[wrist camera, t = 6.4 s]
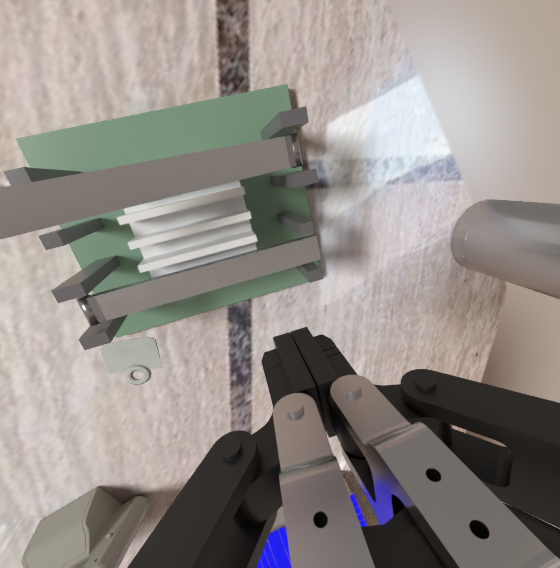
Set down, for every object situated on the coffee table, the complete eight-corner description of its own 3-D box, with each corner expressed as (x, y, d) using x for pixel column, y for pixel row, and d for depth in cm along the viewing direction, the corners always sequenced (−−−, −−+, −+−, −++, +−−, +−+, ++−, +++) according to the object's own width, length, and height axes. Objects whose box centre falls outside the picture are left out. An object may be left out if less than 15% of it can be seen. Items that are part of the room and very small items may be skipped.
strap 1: (292, 134, 23) (299, 131, 22) (298, 166, 24) (305, 165, 23) (-40, 194, 14) (-47, 193, 13) (-10, 243, 15) (-15, 245, 14)
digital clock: (49, 558, 41) (-1, 675, 31) (9, 521, 38) (-62, 640, 28) (161, 510, 43) (146, 607, 33) (132, 470, 39) (106, 566, 30)
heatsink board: (284, 87, 28) (317, 44, 20) (318, 275, 36) (353, 305, 27) (23, 140, 25) (-78, 118, 17) (119, 333, 33) (84, 389, 24)
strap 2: (313, 232, 26) (316, 234, 25) (318, 258, 27) (321, 260, 26) (79, 296, 23) (74, 300, 22) (92, 322, 24) (88, 327, 23)
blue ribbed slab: (199, 532, 46) (196, 619, 37) (341, 465, 49) (371, 532, 39) (241, 587, 53) (247, 671, 44) (364, 527, 56) (394, 595, 46)
